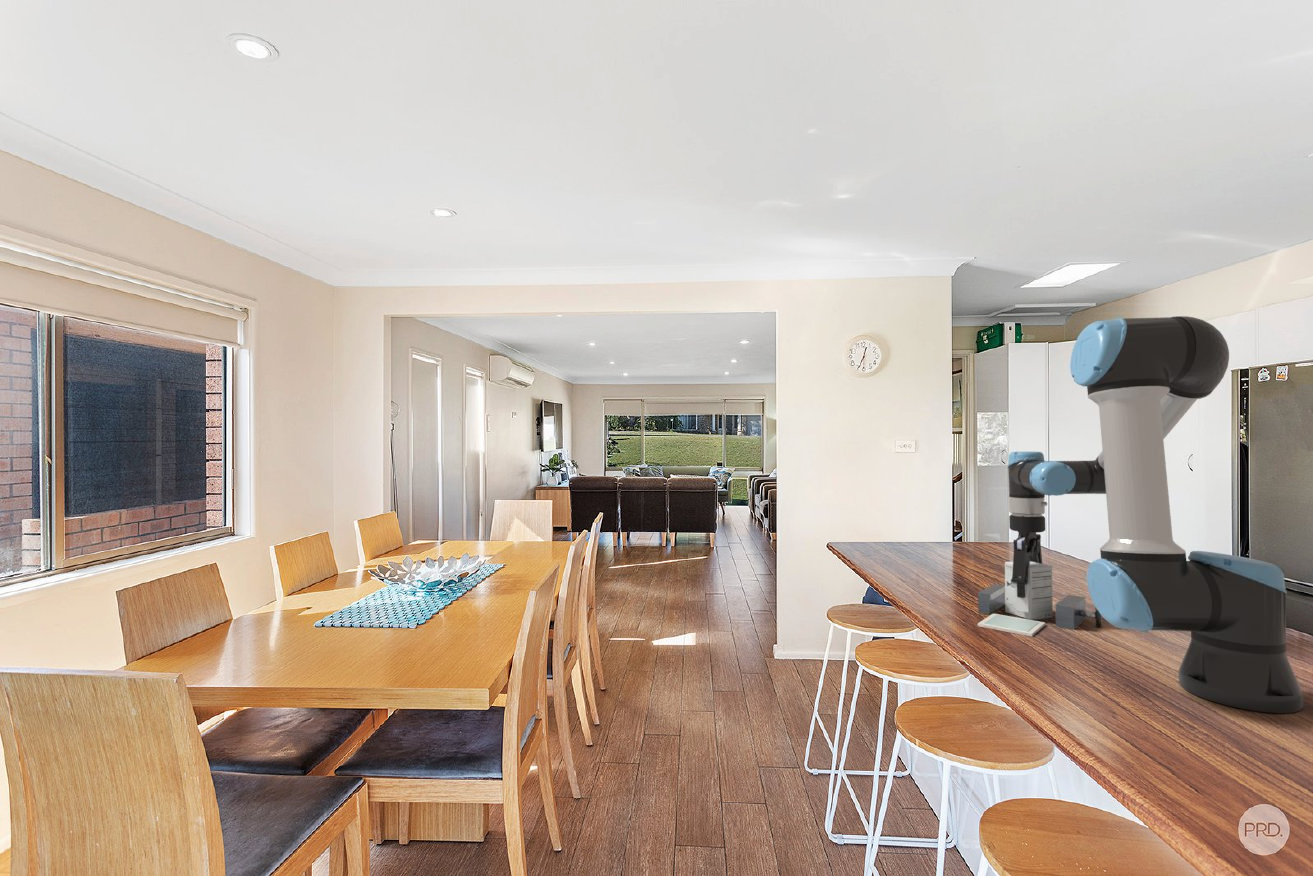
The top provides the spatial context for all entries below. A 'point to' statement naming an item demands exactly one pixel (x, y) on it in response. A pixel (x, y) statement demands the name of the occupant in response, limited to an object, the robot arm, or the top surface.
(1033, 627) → the plate
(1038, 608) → the supplement box
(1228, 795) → the top surface
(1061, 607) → the vise
